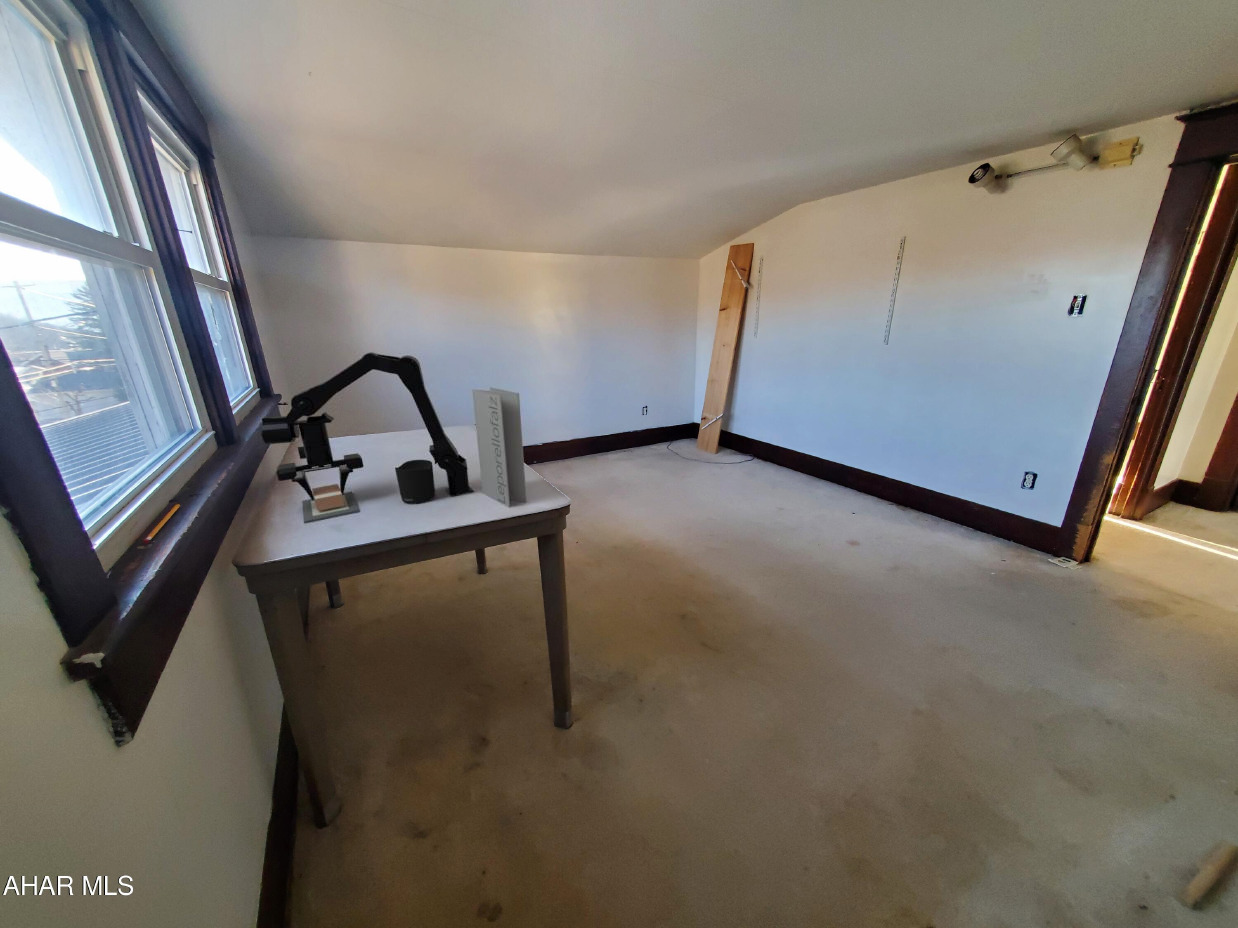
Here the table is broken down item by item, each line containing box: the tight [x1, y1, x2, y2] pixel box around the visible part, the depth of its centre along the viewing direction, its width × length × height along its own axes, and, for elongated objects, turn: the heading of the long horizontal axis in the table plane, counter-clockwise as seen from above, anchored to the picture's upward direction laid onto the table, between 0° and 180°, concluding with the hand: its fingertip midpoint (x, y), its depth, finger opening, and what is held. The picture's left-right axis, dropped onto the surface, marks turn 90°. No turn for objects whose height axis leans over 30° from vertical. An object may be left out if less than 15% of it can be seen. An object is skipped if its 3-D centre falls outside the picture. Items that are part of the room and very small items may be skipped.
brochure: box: [471, 386, 527, 508], centre depth 125 cm, size 14×6×30 cm, turn 45°
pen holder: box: [394, 459, 436, 505], centre depth 127 cm, size 9×9×10 cm
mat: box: [301, 491, 360, 524], centre depth 123 cm, size 16×12×1 cm
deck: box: [311, 483, 344, 511], centre depth 122 cm, size 10×6×3 cm, turn 36°
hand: (328, 496), depth 122 cm, fingers open, 6 cm apart
